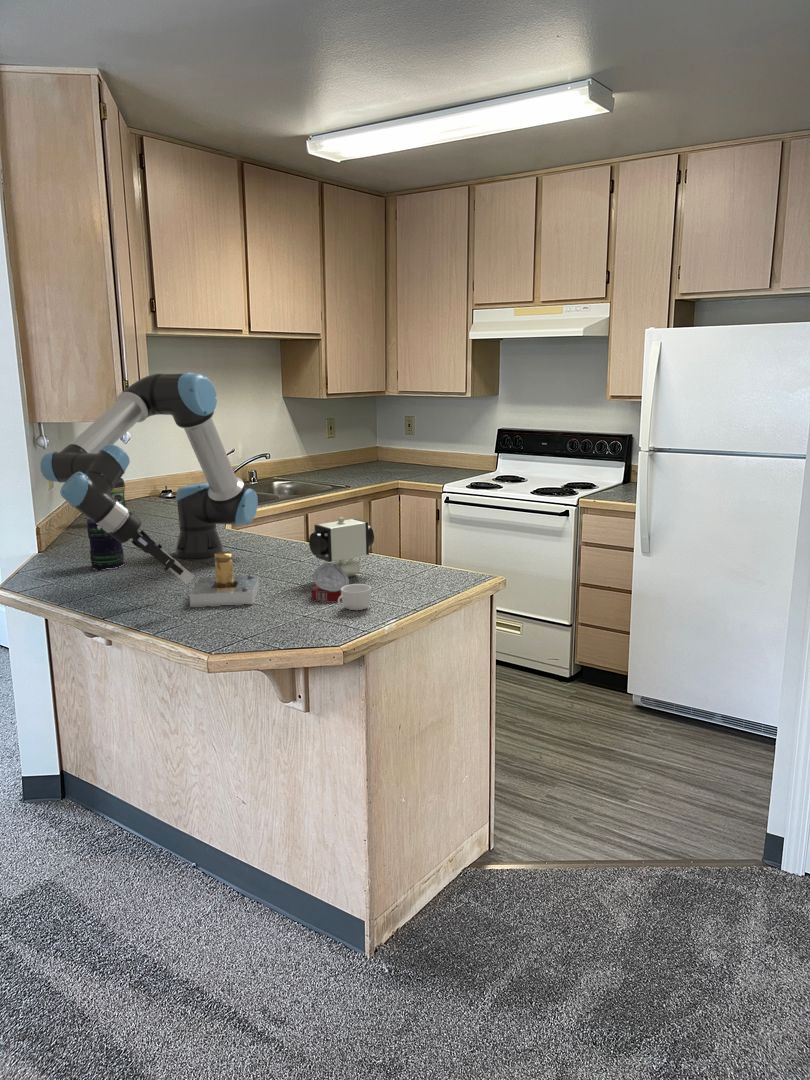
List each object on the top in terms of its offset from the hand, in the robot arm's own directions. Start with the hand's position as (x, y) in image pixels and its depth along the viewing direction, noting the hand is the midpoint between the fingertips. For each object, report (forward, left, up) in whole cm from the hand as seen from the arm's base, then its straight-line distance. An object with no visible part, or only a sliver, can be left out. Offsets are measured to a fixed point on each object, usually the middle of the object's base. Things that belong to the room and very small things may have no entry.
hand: (183, 573), depth 208 cm
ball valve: (-20, +41, -8) cm, 46 cm away
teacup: (+11, +44, -8) cm, 46 cm away
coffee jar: (-110, -48, -8) cm, 121 cm away
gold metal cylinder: (-4, +10, -8) cm, 13 cm away
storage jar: (-43, -32, -8) cm, 54 cm away
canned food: (-1, +38, -8) cm, 39 cm away
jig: (-4, +10, -8) cm, 13 cm away
